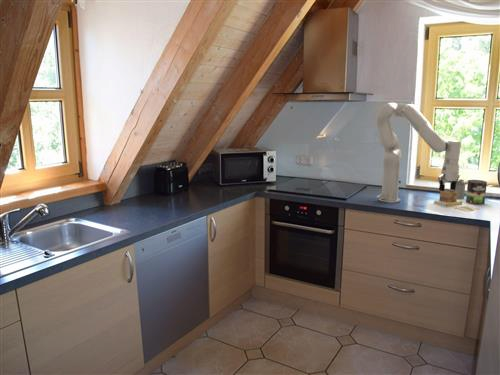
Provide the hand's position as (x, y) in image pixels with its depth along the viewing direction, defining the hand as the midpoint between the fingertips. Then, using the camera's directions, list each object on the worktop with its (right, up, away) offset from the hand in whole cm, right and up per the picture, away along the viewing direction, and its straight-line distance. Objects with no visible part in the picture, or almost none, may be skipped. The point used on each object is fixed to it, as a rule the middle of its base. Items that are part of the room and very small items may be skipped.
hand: (447, 190), depth 253 cm
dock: (+1, -9, +2) cm, 10 cm away
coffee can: (+19, -9, +5) cm, 21 cm away
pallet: (+7, -12, -9) cm, 16 cm away
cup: (+14, -6, +18) cm, 23 cm away
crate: (+1, -6, +1) cm, 7 cm away
